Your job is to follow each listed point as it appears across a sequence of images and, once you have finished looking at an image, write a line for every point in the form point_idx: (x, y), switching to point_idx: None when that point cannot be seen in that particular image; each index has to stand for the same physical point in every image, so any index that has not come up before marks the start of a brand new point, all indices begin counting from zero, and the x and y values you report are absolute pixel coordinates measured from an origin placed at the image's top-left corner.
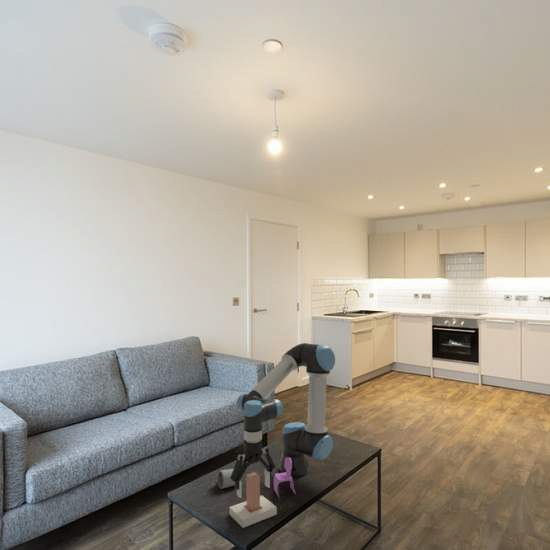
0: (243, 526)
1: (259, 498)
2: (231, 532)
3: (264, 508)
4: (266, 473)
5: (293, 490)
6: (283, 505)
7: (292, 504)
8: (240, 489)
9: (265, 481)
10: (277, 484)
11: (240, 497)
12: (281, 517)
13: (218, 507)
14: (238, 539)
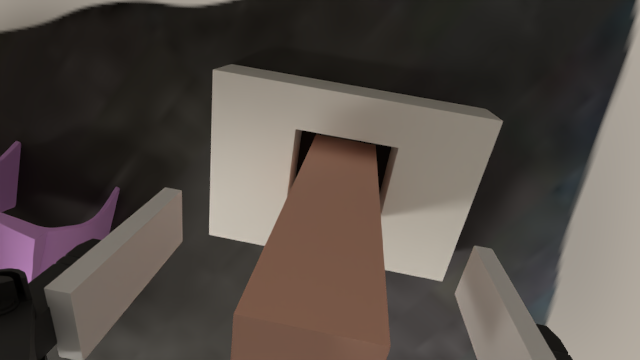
0: (482, 109)
1: (301, 174)
2: (567, 123)
3: (291, 118)
4: (99, 305)
5: (10, 164)
6: (140, 106)
7: (87, 74)
8: (519, 306)
9: (161, 255)
10: (69, 230)
11: (487, 251)
12: (226, 14)
13: (425, 328)
14: (607, 31)
